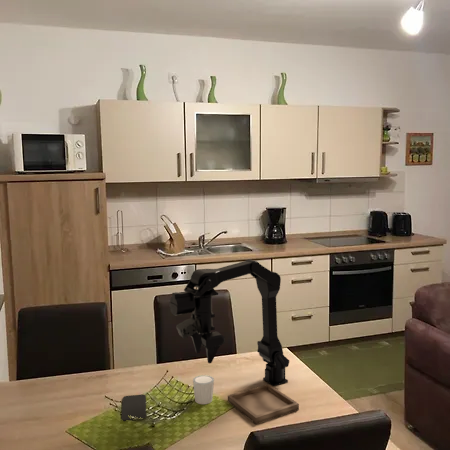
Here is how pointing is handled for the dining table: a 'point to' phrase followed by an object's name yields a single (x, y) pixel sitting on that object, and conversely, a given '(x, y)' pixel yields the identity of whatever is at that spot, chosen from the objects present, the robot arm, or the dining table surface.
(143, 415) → the phone
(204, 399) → the shot glass
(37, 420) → the dining table surface
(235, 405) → the walnut tray
